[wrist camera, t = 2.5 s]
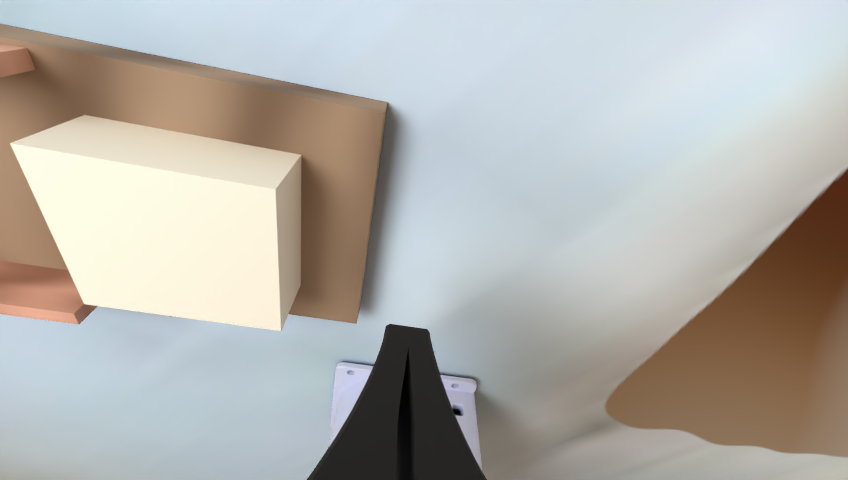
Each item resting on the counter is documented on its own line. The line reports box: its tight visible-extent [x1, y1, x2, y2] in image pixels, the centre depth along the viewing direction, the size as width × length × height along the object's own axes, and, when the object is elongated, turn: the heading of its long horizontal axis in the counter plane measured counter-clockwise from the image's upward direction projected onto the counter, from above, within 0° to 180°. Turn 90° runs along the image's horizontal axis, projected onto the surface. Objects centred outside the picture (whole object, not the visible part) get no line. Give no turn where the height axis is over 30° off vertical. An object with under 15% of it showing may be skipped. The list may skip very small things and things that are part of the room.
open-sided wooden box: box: [0, 24, 388, 324], centre depth 15 cm, size 22×12×4 cm, turn 79°
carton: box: [10, 115, 301, 331], centre depth 15 cm, size 8×7×3 cm
